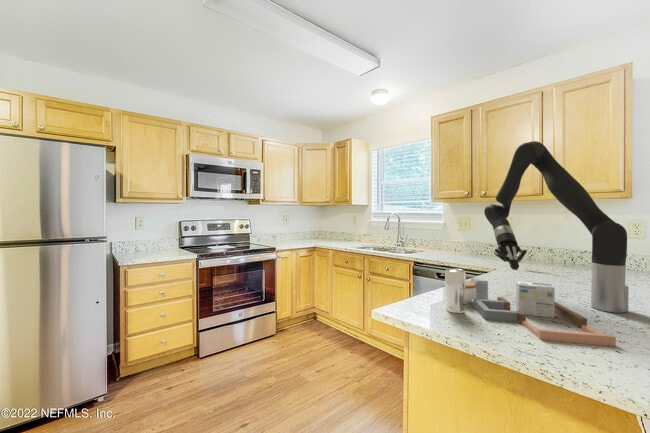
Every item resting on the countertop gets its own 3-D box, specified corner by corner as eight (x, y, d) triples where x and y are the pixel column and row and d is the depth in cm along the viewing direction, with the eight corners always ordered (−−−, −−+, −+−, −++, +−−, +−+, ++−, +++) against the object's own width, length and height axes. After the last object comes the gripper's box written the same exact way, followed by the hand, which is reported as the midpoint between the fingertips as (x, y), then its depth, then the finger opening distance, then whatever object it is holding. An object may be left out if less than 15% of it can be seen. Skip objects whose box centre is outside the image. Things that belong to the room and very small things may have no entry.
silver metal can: (469, 314, 104) (469, 272, 103) (449, 313, 104) (449, 272, 103) (460, 307, 110) (460, 268, 110) (441, 307, 111) (442, 268, 110)
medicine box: (488, 302, 117) (488, 281, 117) (476, 301, 118) (476, 280, 118) (481, 297, 125) (481, 277, 125) (470, 296, 126) (470, 276, 126)
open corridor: (552, 308, 110) (552, 300, 110) (587, 328, 91) (587, 318, 91) (497, 304, 115) (497, 296, 115) (519, 322, 95) (519, 313, 95)
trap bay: (502, 308, 110) (502, 300, 110) (517, 321, 96) (517, 312, 96) (473, 306, 112) (473, 298, 112) (484, 319, 98) (484, 310, 98)
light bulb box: (549, 312, 106) (550, 283, 105) (555, 318, 99) (555, 287, 99) (515, 308, 110) (515, 280, 110) (518, 314, 104) (518, 284, 104)
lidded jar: (448, 296, 126) (449, 274, 126) (476, 300, 121) (477, 277, 120) (445, 302, 117) (445, 279, 117) (475, 307, 111) (475, 282, 111)
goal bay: (587, 329, 90) (587, 321, 90) (615, 346, 79) (615, 337, 79) (522, 324, 94) (522, 316, 94) (540, 339, 83) (540, 330, 83)
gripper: (491, 231, 131) (500, 262, 120) (523, 232, 128) (537, 264, 117) (487, 242, 137) (495, 273, 125) (518, 243, 134) (530, 274, 122)
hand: (515, 268), depth 121 cm, fingers closed
